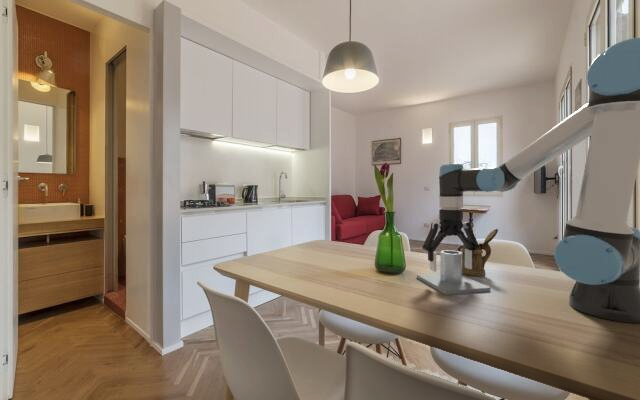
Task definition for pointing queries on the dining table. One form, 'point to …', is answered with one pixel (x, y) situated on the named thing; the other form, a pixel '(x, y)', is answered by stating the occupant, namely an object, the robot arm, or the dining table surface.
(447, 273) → the sleeve
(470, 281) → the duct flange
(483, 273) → the wooden mug
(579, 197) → the robot arm
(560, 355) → the dining table surface
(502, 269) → the dining table surface
